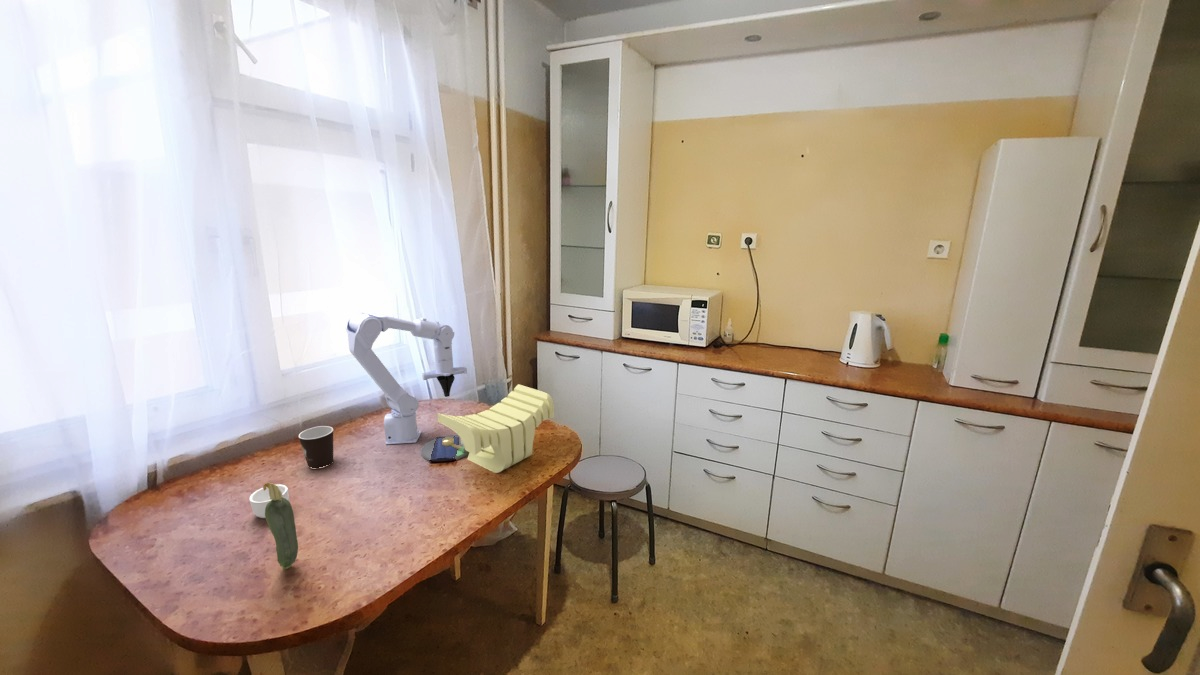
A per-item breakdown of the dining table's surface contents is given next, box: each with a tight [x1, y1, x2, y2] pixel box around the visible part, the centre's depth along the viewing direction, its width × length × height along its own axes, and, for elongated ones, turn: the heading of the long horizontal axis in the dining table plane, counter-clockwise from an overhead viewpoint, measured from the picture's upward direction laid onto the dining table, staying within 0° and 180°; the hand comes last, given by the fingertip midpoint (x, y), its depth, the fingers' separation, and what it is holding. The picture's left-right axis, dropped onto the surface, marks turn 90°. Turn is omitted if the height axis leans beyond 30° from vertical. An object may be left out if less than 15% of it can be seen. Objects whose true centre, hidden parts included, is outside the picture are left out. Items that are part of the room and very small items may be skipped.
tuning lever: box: [442, 437, 468, 452], centre depth 141 cm, size 10×4×5 cm, turn 62°
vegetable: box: [262, 482, 299, 570], centre depth 91 cm, size 4×4×20 cm
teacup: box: [248, 483, 290, 519], centre depth 112 cm, size 10×8×5 cm
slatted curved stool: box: [437, 383, 555, 474], centre depth 136 cm, size 30×16×18 cm, turn 143°
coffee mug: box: [298, 425, 334, 468], centre depth 134 cm, size 12×9×10 cm
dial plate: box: [420, 434, 469, 461], centre depth 143 cm, size 16×16×1 cm
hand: (446, 395), depth 159 cm, fingers closed
